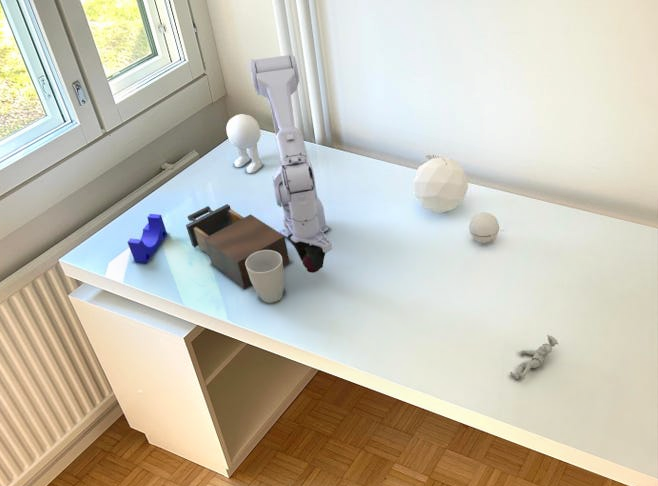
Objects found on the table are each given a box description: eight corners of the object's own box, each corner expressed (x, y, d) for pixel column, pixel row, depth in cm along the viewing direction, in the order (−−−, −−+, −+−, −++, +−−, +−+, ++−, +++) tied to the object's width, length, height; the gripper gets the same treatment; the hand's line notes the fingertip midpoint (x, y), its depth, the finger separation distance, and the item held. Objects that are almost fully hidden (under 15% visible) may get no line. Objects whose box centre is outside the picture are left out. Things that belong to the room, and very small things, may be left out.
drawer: (181, 238, 185) (175, 217, 180) (221, 217, 191) (216, 196, 186) (220, 266, 176) (214, 245, 172) (261, 243, 182) (256, 223, 177)
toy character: (228, 166, 210) (216, 117, 199) (252, 153, 215) (242, 105, 204) (249, 177, 206) (238, 127, 195) (273, 163, 210) (263, 114, 200)
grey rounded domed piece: (463, 244, 181) (463, 219, 175) (476, 228, 185) (477, 203, 180) (500, 255, 177) (502, 230, 172) (513, 238, 182) (514, 213, 176)
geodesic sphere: (390, 185, 189) (414, 156, 177) (426, 162, 197) (451, 132, 185) (426, 231, 190) (453, 205, 178) (460, 206, 198) (488, 180, 185)
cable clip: (151, 232, 188) (144, 213, 184) (167, 234, 187) (160, 214, 183) (129, 261, 180) (121, 241, 176) (146, 263, 179) (138, 243, 175)
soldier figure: (501, 374, 151) (530, 329, 154) (517, 388, 152) (546, 343, 156) (521, 372, 144) (552, 325, 147) (538, 387, 145) (568, 340, 149)
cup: (295, 288, 171) (288, 253, 164) (279, 310, 165) (271, 275, 158) (263, 281, 173) (256, 247, 166) (247, 303, 167) (238, 268, 160)
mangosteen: (314, 260, 172) (311, 245, 169) (325, 268, 170) (323, 252, 167) (300, 269, 170) (297, 253, 167) (311, 276, 168) (309, 261, 165)
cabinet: (212, 265, 178) (204, 238, 172) (256, 240, 184) (250, 214, 179) (244, 289, 171) (237, 262, 165) (289, 262, 178) (284, 236, 172)
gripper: (268, 209, 161) (279, 258, 171) (311, 235, 154) (319, 285, 163) (294, 195, 164) (302, 245, 174) (336, 221, 157) (342, 271, 167)
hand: (312, 263), depth 169 cm, fingers closed on mangosteen, 4 cm apart
